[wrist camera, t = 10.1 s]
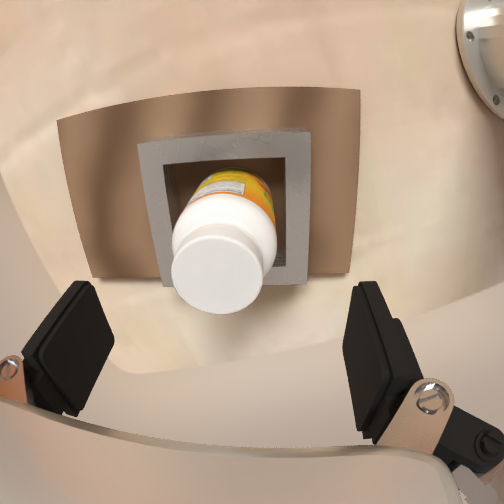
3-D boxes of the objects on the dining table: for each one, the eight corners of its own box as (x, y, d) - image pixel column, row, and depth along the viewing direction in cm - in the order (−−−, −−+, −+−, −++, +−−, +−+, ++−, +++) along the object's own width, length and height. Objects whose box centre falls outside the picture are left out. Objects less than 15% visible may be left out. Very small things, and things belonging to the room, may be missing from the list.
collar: (304, 128, 19) (310, 132, 17) (302, 265, 24) (306, 283, 22) (150, 138, 20) (137, 144, 17) (171, 268, 24) (163, 286, 22)
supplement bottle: (274, 235, 23) (282, 324, 14) (202, 240, 23) (170, 328, 15) (270, 162, 20) (277, 215, 12) (191, 169, 21) (142, 226, 12)
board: (356, 89, 18) (360, 89, 18) (346, 266, 25) (349, 272, 24) (63, 118, 19) (56, 120, 19) (97, 271, 26) (92, 277, 25)
